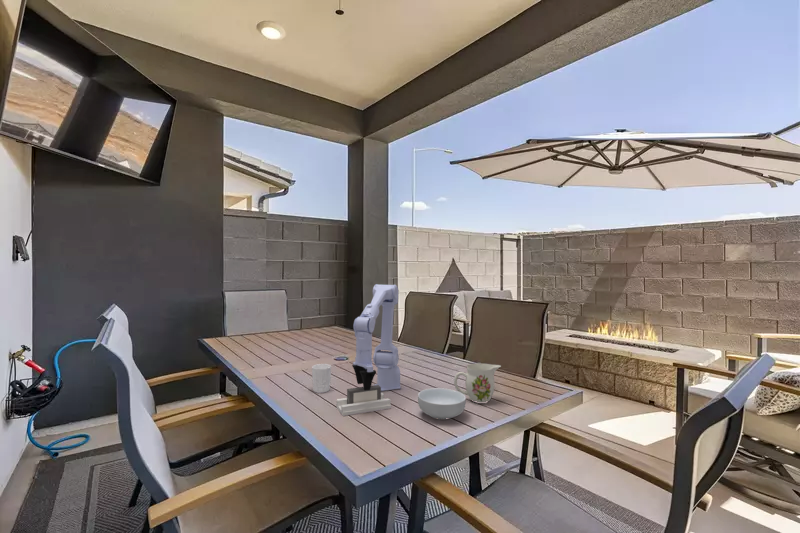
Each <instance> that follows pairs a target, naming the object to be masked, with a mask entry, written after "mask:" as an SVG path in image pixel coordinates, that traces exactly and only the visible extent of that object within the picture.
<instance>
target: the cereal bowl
mask: <svg viewBox="0 0 800 533" xmlns="http://www.w3.org/2000/svg"><path fill="white" fill-rule="evenodd" d="M466 397H467V396H466V395H465V394H462V393H461V392H458V391H457V390H454V389H450V388H443V387H432V388H431V387H430V388H426V389H422V390H421V391H419V392H418V394H417V403H418V404H417V405H418V407H419V408H420V410H421V411H422V412H423V413H424V414H426V415H428V416H430V417H432V419H435V418H438V419H437V420H440V419H446V418H450V419H452V418H455V417H457V416H460V415H461V414H462V413H463V411H465V408H466V403H467V398H466ZM446 420H447V419H446Z"/></svg>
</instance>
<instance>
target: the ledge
mask: <svg viewBox="0 0 800 533" xmlns="http://www.w3.org/2000/svg"><path fill="white" fill-rule="evenodd" d="M391 402H392V400H391V399H390V398H385V393H383V392H381V400H374V401H367V402H360V403H353V404H347V397H343V398H336V404H335V405H336V406H335V407H336V409H337V410H338V412H339V413H340V415H341V416H343V417H345V416H352V415H358V414H364V413H371V412H377V411H378V412H379V411H384V410H390V408H391V409H392V406H391Z"/></svg>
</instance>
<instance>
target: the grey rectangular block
mask: <svg viewBox="0 0 800 533" xmlns="http://www.w3.org/2000/svg"><path fill="white" fill-rule="evenodd" d="M381 393H382V391H381V387H380V386H379V385H375V384H373V385H371V388H370V390H364V387H363V386H361V387H360V386H357V387H352V388H346V398H347V404H353V403H360V402H367V401H374V400H381Z"/></svg>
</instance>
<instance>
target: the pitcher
mask: <svg viewBox="0 0 800 533" xmlns="http://www.w3.org/2000/svg"><path fill="white" fill-rule="evenodd" d="M501 367H502V365H501V364H491V363H480V364H477V363H469V364H467V365H466V371H467V372H464V371H459V372H456V374H454V377H453V385H454V388H455V389H456V391H458V392H461V393H462V394H464V395H465V396H468V397H469V399H470V401H471V400H473V401H477V402H486V401H489V402H490V400H491V399H492V397H493V395H494V390H495V377H494V375H495V372H496V371H497V370H498V369H499V368H501ZM460 376H464V377H465V389H466V390H463V389H461V388H460V386H459V385H458V378H459V377H460Z"/></svg>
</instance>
